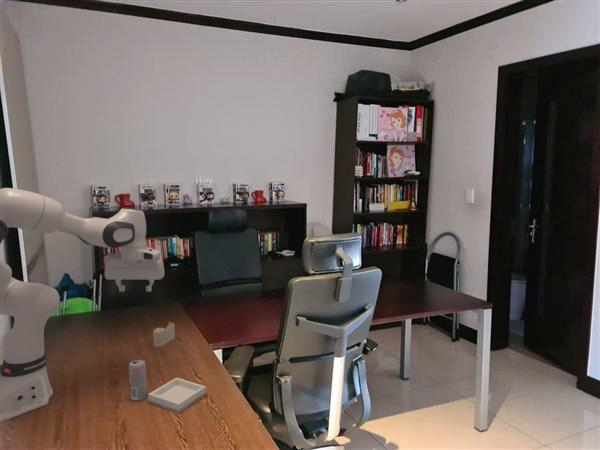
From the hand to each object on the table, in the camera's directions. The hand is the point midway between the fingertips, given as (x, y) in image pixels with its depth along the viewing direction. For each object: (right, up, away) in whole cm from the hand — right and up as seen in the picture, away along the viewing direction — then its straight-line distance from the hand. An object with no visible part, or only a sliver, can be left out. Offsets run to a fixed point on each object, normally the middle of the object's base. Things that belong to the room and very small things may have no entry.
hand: (135, 291), depth 164 cm
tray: (+19, -34, -13) cm, 40 cm away
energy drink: (+5, -34, -12) cm, 36 cm away
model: (+1, -27, +33) cm, 43 cm away
